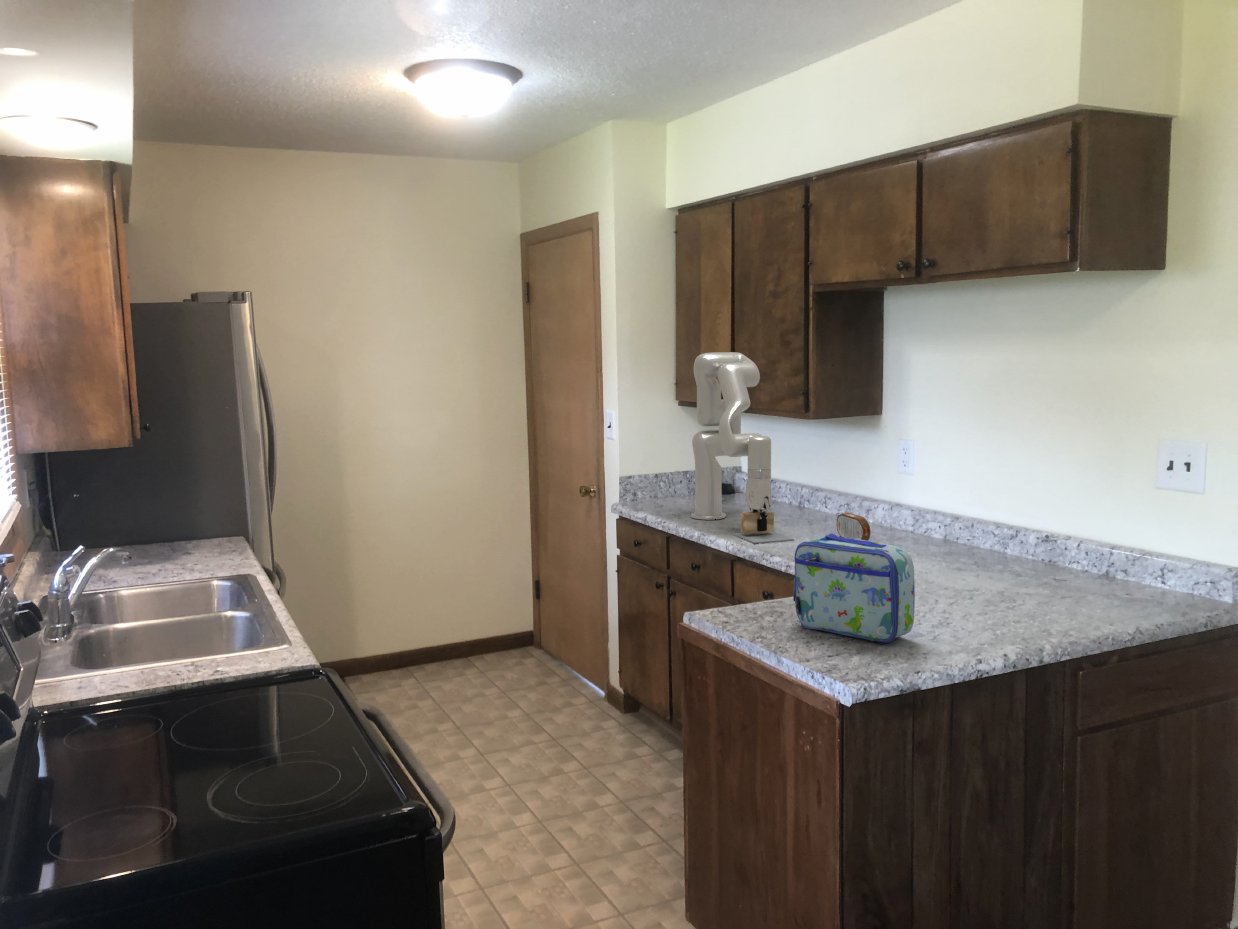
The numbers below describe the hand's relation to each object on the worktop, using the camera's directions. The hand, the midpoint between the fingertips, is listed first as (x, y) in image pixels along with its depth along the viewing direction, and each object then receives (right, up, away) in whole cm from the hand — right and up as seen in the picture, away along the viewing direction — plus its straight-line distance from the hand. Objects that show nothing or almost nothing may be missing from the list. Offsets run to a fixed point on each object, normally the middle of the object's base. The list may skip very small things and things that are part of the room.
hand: (759, 529), depth 312 cm
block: (-1, -1, 0) cm, 1 cm away
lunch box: (+5, -16, -104) cm, 105 cm away
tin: (+28, -3, -8) cm, 30 cm away
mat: (+1, -3, -3) cm, 4 cm away
